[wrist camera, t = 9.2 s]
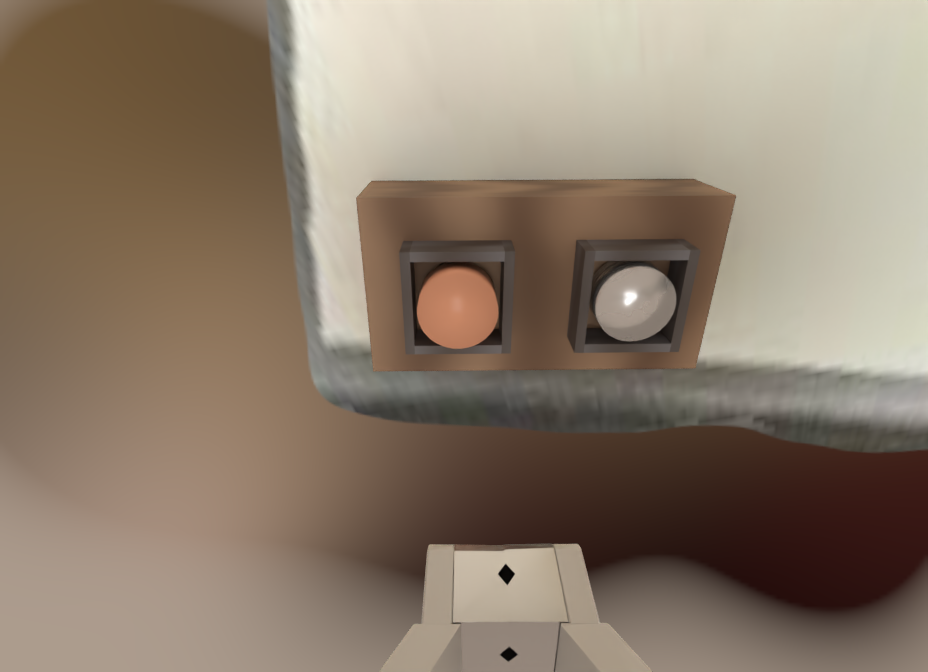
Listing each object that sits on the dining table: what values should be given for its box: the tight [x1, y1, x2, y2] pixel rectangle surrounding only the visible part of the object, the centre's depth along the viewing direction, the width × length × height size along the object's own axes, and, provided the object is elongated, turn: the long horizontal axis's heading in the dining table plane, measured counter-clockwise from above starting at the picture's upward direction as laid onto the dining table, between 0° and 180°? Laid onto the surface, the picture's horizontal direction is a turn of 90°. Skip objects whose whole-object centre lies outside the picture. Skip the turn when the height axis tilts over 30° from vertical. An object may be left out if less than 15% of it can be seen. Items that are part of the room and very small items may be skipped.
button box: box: [356, 179, 736, 371], centre depth 28 cm, size 19×10×7 cm, turn 90°
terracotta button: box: [417, 262, 498, 349], centre depth 25 cm, size 4×4×2 cm
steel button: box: [589, 261, 676, 341], centre depth 26 cm, size 4×4×2 cm
